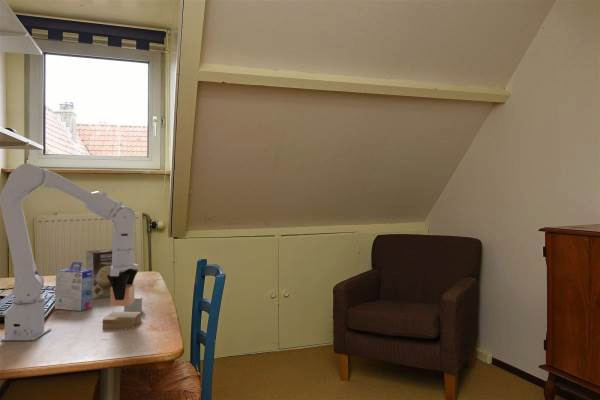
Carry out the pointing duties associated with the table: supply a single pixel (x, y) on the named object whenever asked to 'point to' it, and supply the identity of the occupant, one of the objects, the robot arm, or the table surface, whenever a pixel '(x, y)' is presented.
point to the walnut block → (121, 320)
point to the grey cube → (135, 305)
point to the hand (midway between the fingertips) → (122, 297)
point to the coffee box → (99, 271)
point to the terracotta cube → (127, 298)
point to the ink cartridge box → (73, 288)
